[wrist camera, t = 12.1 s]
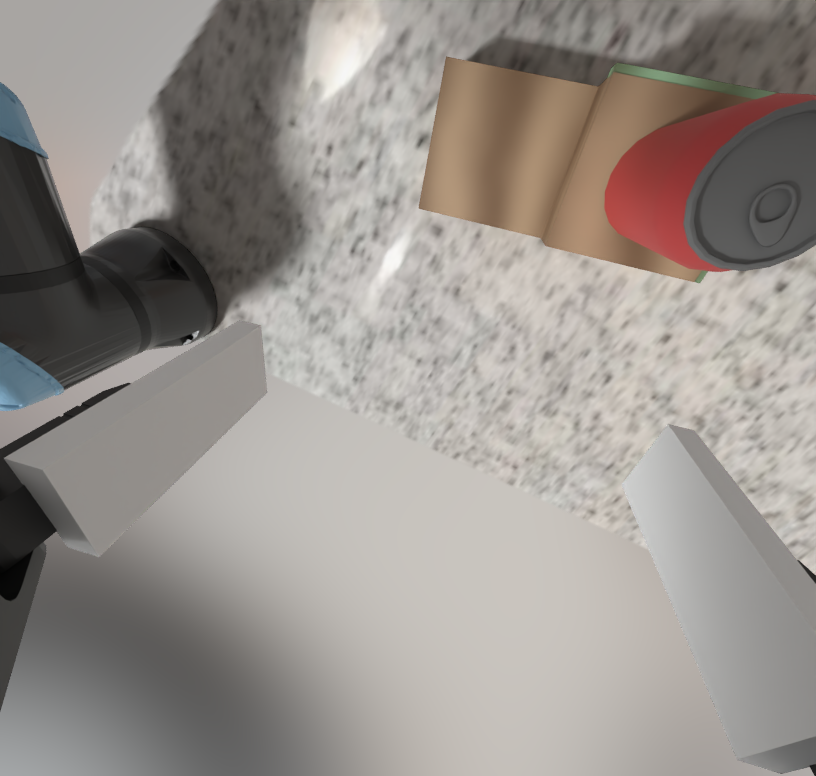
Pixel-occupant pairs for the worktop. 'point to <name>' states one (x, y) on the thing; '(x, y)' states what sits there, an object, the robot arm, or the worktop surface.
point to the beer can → (723, 186)
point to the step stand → (555, 150)
